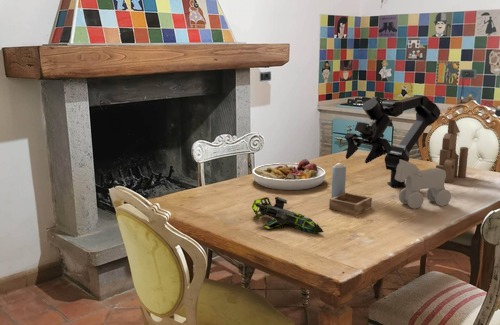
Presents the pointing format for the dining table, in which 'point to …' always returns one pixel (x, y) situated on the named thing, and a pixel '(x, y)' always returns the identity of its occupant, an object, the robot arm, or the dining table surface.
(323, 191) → the dining table surface
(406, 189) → the pony
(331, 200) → the square wooden tray
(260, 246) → the dining table surface
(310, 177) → the bowl
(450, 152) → the wooden toy
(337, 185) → the blue bottle
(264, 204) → the aircraft
